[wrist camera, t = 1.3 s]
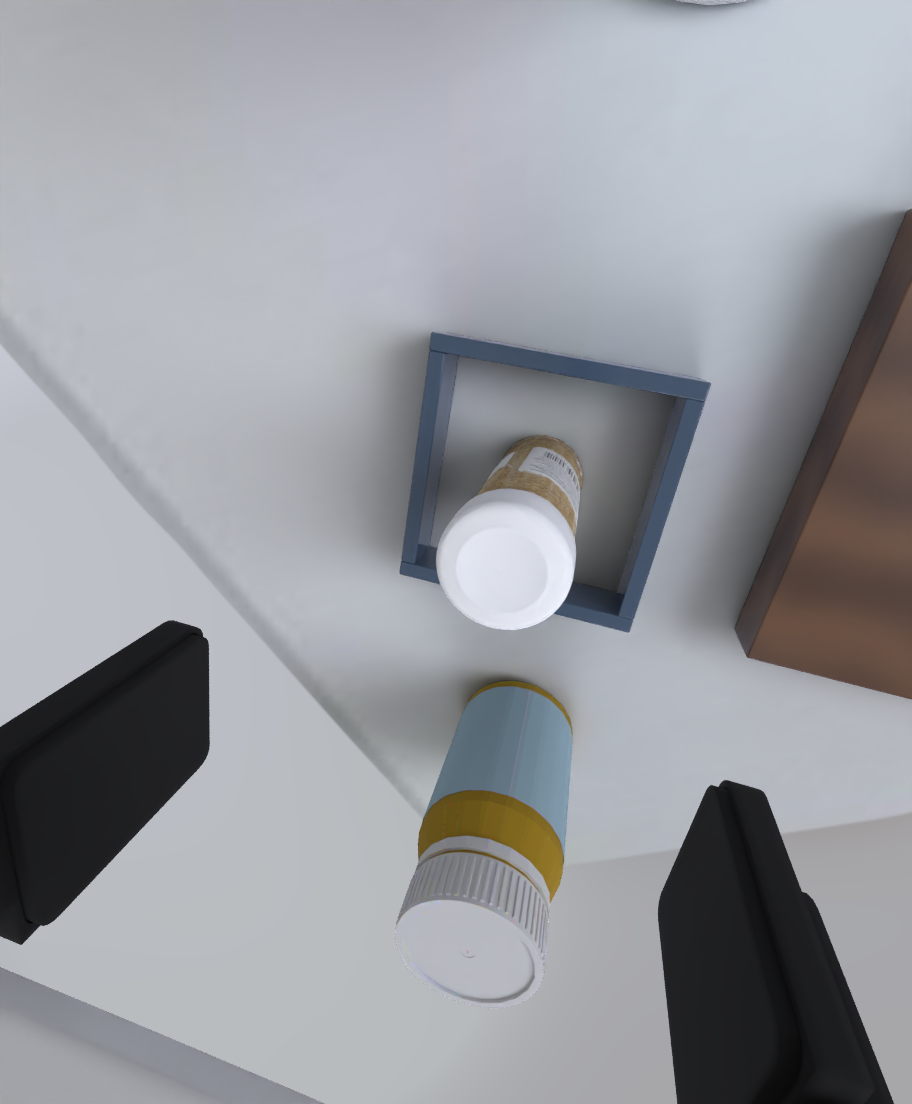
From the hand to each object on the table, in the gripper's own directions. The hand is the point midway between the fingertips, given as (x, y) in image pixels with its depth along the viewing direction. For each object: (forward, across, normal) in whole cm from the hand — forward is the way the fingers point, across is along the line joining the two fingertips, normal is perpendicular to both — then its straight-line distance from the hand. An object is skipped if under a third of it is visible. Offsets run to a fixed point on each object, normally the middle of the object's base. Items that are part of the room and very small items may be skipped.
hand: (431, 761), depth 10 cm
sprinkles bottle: (+22, 0, 0) cm, 22 cm away
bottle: (+22, -2, +16) cm, 27 cm away
